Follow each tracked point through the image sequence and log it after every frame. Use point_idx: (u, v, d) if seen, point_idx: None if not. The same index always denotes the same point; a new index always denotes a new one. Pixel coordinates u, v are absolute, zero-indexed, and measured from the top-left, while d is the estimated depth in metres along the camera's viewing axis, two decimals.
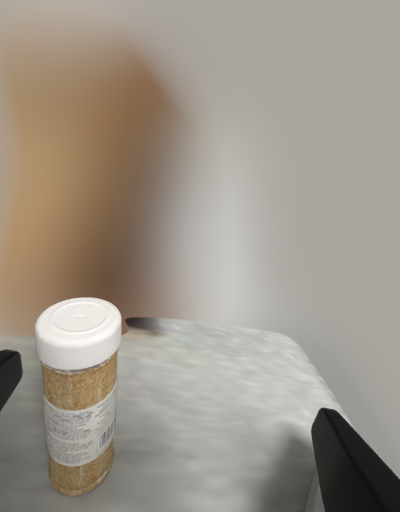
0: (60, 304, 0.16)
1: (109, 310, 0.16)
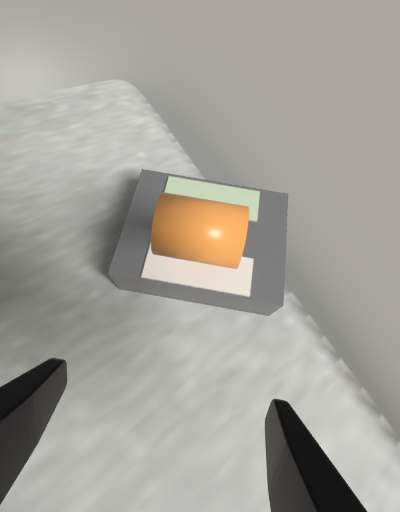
0: None
1: None
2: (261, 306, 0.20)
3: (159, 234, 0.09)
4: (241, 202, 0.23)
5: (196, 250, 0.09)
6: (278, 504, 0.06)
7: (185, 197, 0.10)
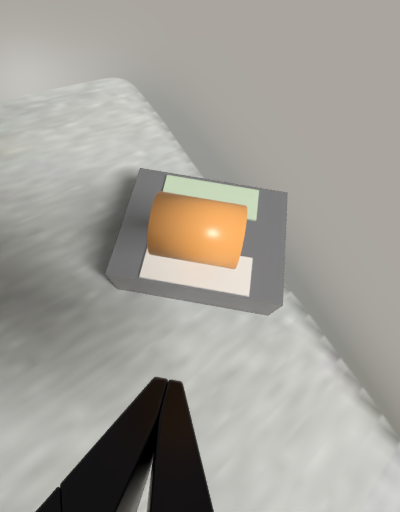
0: None
1: None
2: (260, 306, 0.20)
3: (156, 233, 0.09)
4: (240, 201, 0.22)
5: (193, 250, 0.09)
6: (150, 479, 0.06)
7: (182, 196, 0.10)
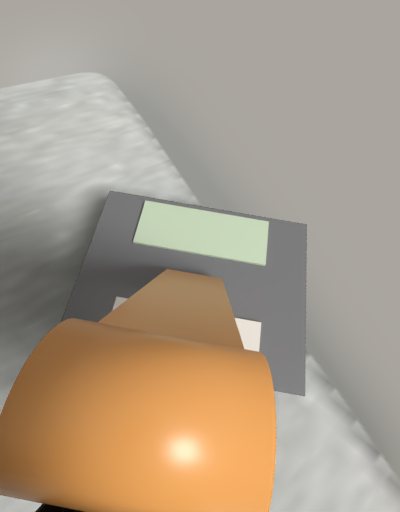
0: None
1: None
2: None
3: (14, 485, 0.03)
4: (243, 237, 0.16)
5: None
6: None
7: (104, 352, 0.04)
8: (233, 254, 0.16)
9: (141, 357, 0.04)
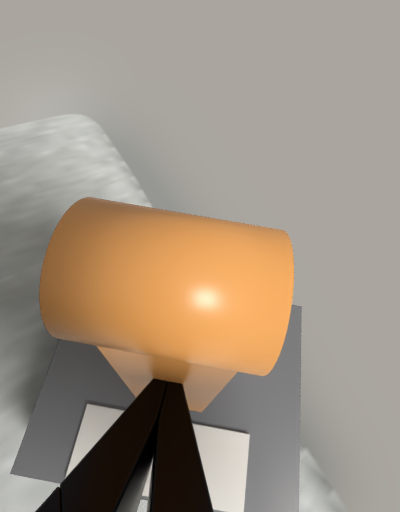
0: None
1: None
2: None
3: (71, 245, 0.03)
4: None
5: (166, 295, 0.03)
6: (150, 479, 0.06)
7: None
8: None
9: None
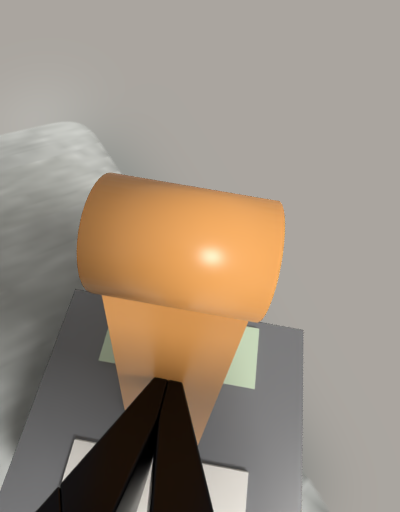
0: None
1: None
2: None
3: (107, 194, 0.04)
4: None
5: (183, 230, 0.04)
6: (150, 479, 0.06)
7: None
8: None
9: None
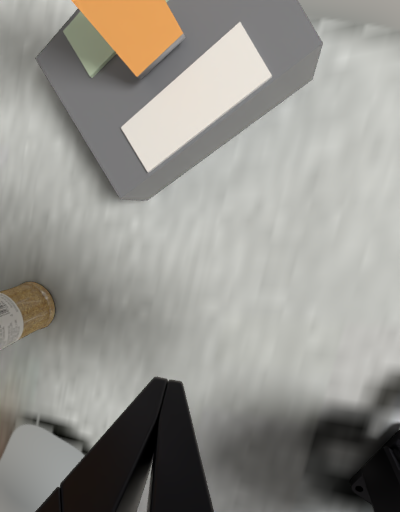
0: None
1: None
2: (295, 74, 0.14)
3: None
4: None
5: None
6: (150, 479, 0.06)
7: None
8: None
9: None
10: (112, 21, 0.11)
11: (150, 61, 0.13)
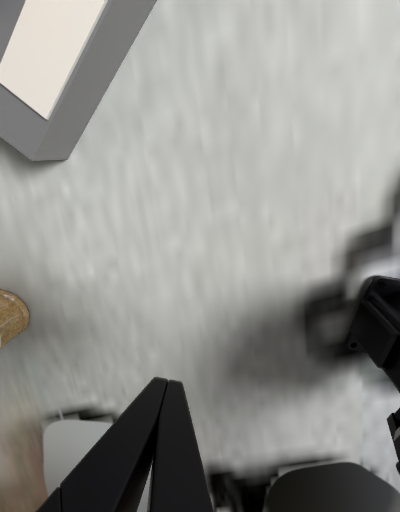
0: None
1: None
2: None
3: None
4: None
5: None
6: (150, 479, 0.06)
7: None
8: None
9: None
10: None
11: None
